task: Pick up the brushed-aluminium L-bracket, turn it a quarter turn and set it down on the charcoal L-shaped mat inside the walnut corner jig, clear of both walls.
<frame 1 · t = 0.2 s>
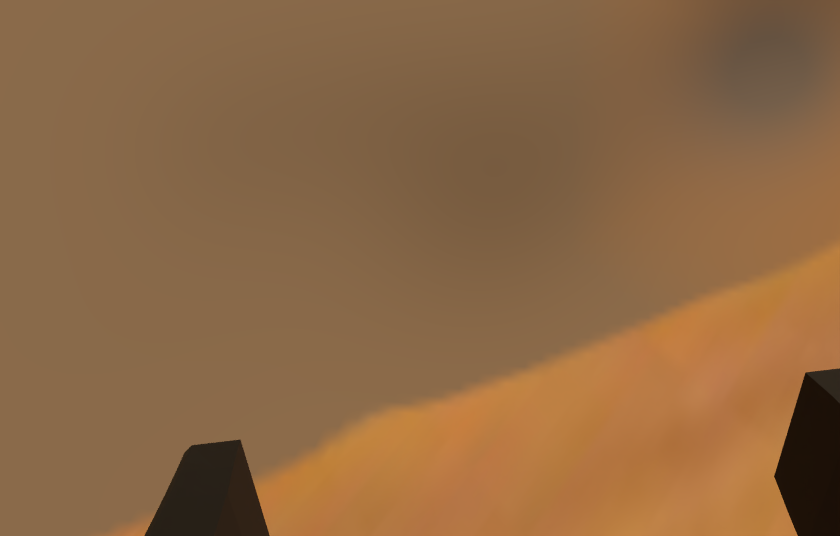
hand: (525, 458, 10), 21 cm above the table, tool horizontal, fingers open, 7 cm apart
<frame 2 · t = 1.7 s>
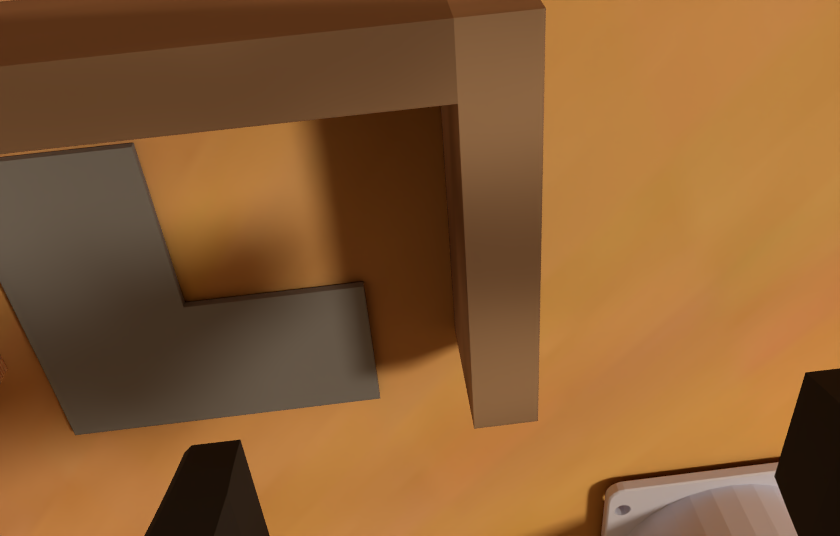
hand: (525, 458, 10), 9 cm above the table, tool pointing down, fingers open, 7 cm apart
corner jig: (213, 359, 21), on the table
L-shaped mat: (213, 359, 21), on the table
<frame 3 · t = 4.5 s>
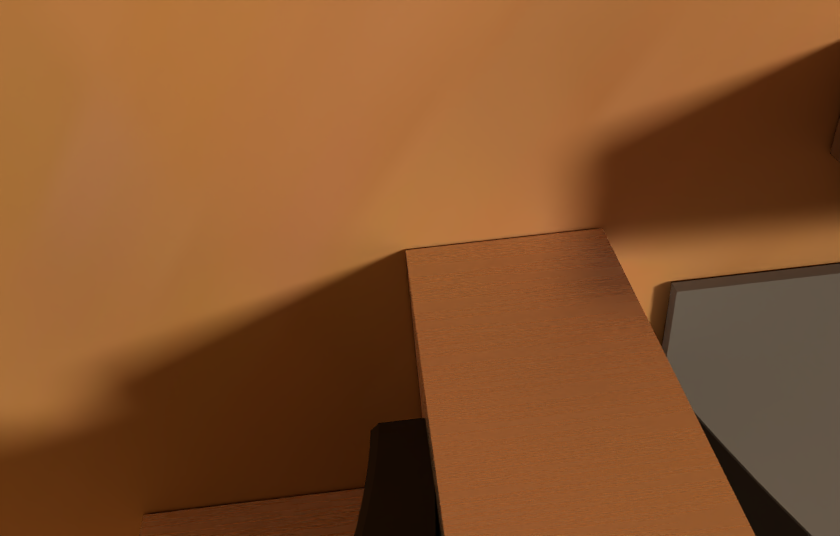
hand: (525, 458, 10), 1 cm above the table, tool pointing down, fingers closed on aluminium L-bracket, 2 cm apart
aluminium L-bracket: (506, 428, 12), on the table, touching gripper
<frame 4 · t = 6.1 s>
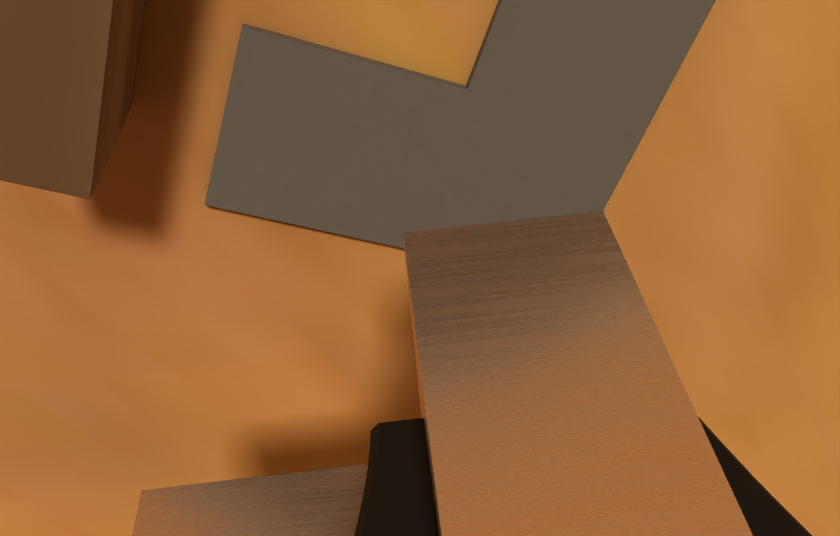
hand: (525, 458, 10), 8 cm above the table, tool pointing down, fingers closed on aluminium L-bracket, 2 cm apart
corner jig: (559, 100, 17), on the table
L-shaped mat: (559, 100, 17), on the table
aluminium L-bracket: (503, 406, 12), point 7 cm above the table, touching gripper
when the fingers open (3 cm above the table, at t = 8.1 s): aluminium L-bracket drops 1 cm, resting on L-shaped mat.
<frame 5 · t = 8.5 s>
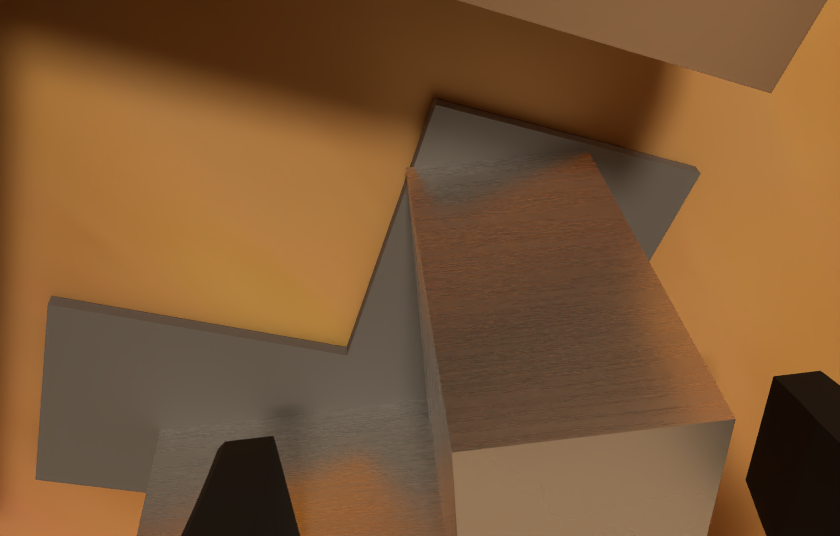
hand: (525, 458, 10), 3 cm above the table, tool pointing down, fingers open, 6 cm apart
corner jig: (467, 356, 13), on the table
L-shaped mat: (467, 356, 13), on the table
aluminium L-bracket: (498, 347, 13), resting on L-shaped mat
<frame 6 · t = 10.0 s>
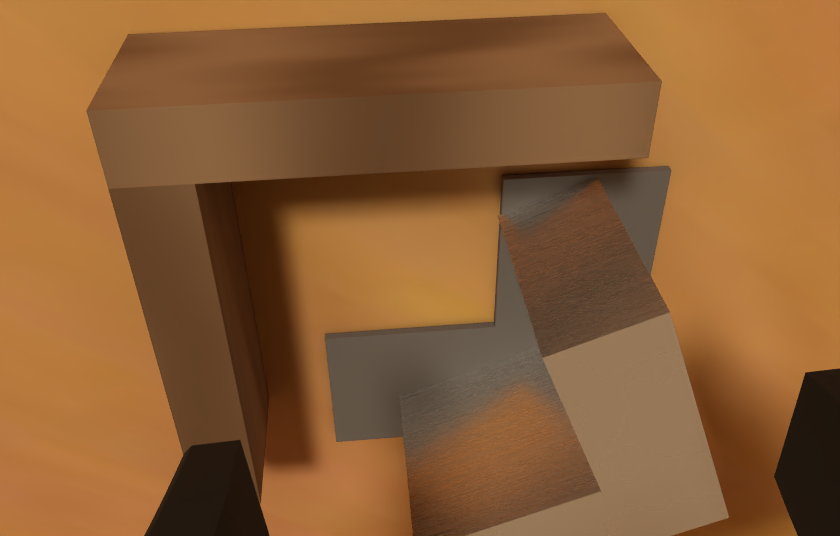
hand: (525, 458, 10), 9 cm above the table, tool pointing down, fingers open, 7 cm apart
corner jig: (568, 309, 22), on the table
L-shaped mat: (568, 309, 22), on the table
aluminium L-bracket: (585, 299, 21), resting on L-shaped mat
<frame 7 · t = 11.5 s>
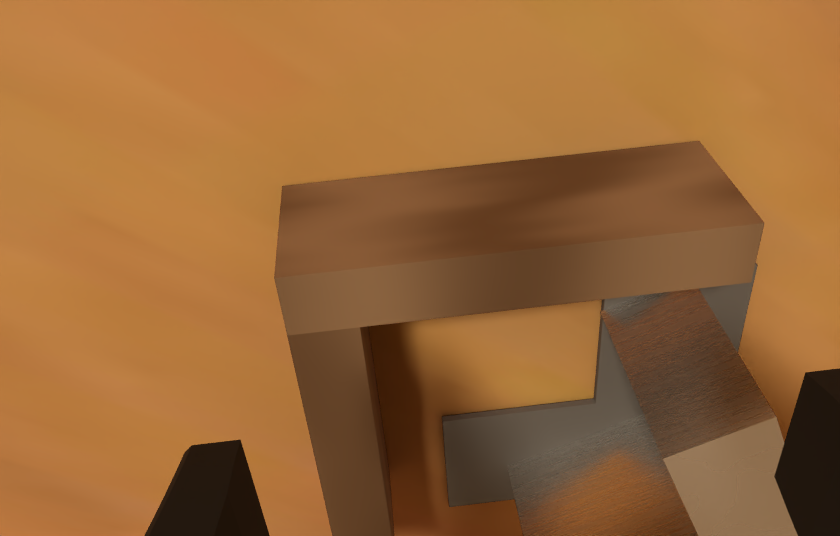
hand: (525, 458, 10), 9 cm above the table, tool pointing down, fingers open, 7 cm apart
corner jig: (661, 384, 24), on the table
L-shaped mat: (661, 384, 24), on the table
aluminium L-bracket: (677, 376, 23), resting on L-shaped mat
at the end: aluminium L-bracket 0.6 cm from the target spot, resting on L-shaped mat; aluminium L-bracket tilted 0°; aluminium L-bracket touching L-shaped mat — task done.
